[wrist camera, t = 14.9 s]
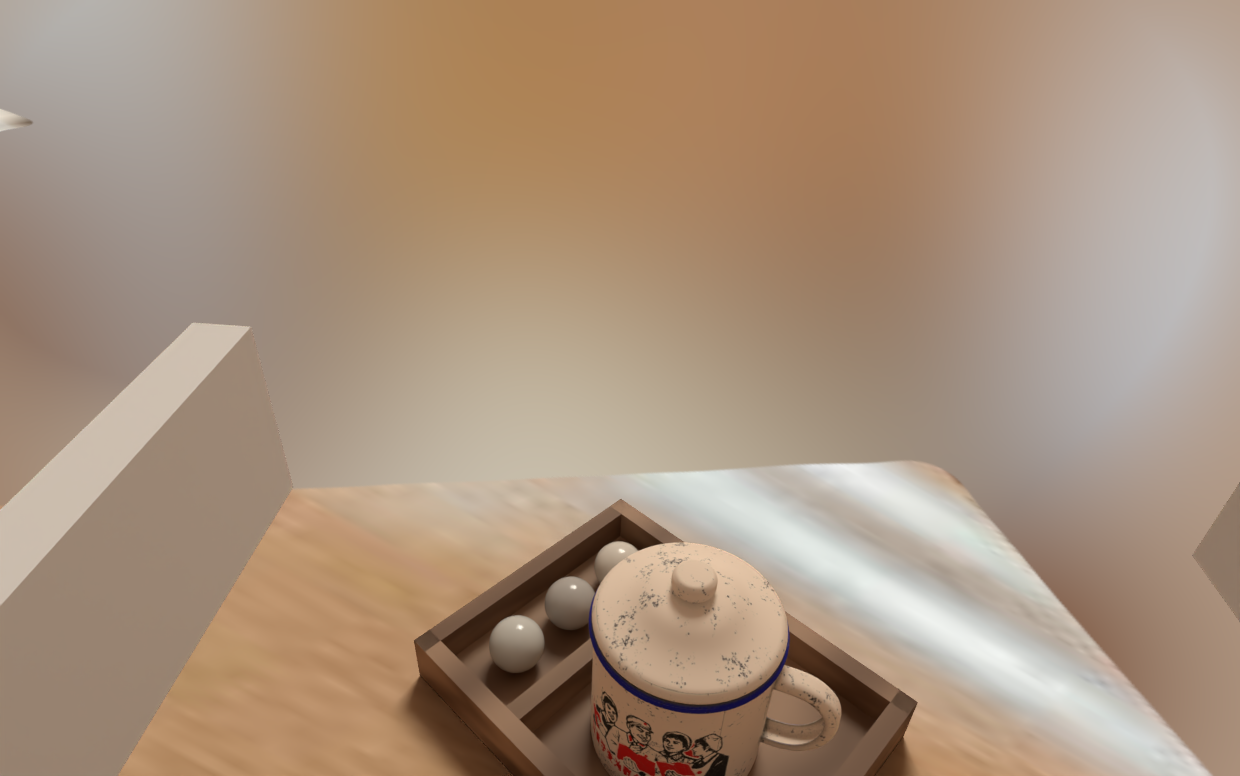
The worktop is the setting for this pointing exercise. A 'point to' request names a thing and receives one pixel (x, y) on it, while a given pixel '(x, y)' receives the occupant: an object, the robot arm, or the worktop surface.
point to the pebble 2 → (569, 603)
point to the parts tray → (562, 679)
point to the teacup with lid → (694, 666)
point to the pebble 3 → (611, 557)
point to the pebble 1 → (516, 644)
